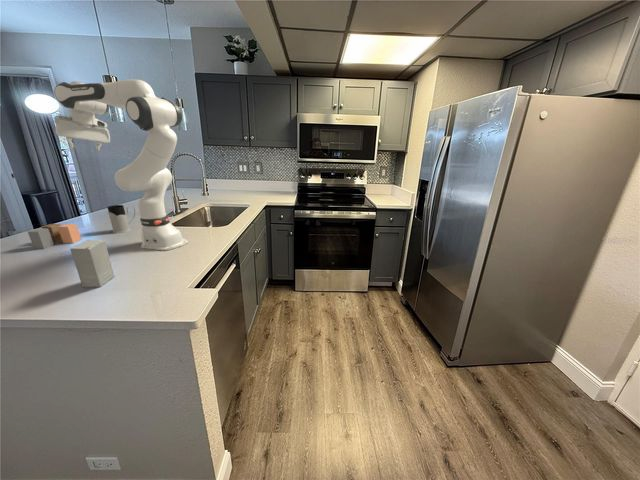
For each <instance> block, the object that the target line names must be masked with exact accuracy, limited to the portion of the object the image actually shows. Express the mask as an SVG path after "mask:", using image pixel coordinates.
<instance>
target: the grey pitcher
mask: <svg viewBox="0 0 640 480" xmlns="http://www.w3.org/2000/svg"><path fill="white" fill-rule="evenodd" d="M130 207H132V208H133V211H134V214H133V217H132V219H131V220H130V221H129V220H128V217H127V215H129V208H130ZM107 211H108V216H109V219H110V223H111V227H112V233H113V234H124V233H128V232H131V230H132V229H131V228H130V224H131V223H132V222H133V220H134V219H135V218H136V212H137V211H136V208H135V207H134V206H132V205H129V206H127V207H126V211H125V207H124V205H123V204H116V205H109V206H107Z"/></svg>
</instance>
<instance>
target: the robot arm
mask: <svg viewBox="0 0 640 480" xmlns="http://www.w3.org/2000/svg"><path fill="white" fill-rule="evenodd" d="M53 93H54V96H55V98H56V100H57V101H58V102H59V103H60V104H61V106H63V107H64V108H66V109H69V110H70V111H69V114H70V116H66V115H62V114H61V115H60V114H58V115H56V116H54V117H53V119H54V124H55V134H56V135H57V136H59V137H65V138H66V141H67V142H68V143H69V146H70V148H71V149H77V148H76V146H77V145H76V144H75V143H73V142H72V141H73V139H77V140H85V141H92V142H96V144H97V146H94V151H95V152H100V149H101V146H102V145H103V143H104V144H105V143H106V144H109V143H110V142H111V135H110V131H109V129H108V124H107V123H106V122H104V121H102V120H100V119H98V118H96V115H102V116H104V115H105V114H107V113H108V112H109V109H110V107H111V106H113V107H115V108H119V109H122V110H126V114H127V116H128V117H129V119H130V120H131V121H132V122H133V123H134V124H135V125H137V126H138V127H139V129H140V130H141V131H145V132H148V134H147V138H146V140H145V142H144V144H143V147H142V149H141V150H140V153H139V155H138V156H137V157H136V158H134V160H133V161H132V162H130V163H129V164H128V165H126V166H124V167H123V168H121V169H119V170H118V169H117V170H116V172H115V174H114V181H115V184H116V186H117V187H118V188H119V189H120V190H122V191H123V192H141V191H142V192H143V191H145V193H144V195H143V196H142V198H140V199H139V200H138V202H137V207H138V211H139V215H140V223H141V226H142V228H141V229H140V230H141V231H140V235H141V241H142V242H141V243H142V244H141V245H140V248H141V249H149V250H156V251H157V250H158V251H169V250H173V249H177V248H180V247H182V246H185V245H186V244H188V243H189V240H188V239H186V238H183V236H182V232H181V230H180V229H177V228H176V227H175V226H174V225H173V224H172V223H171V218H170V217H169V216H168V215H167V213H166V209H165V195H166V191H167V189H168V187H169V186H170V185H171V184H172V182H173V174H172V173H171V171H170V169H168V168H167V166H168V164H169V163H170V160H171V158H172V157H173V154H174V152H175V150H176V146H177V143H178V135H177V134H176V132H175V131H174V130H173V129H172V128H174V127H178V126H179V125H181V124H182V121H183V112H182V110H181V108H180V107H179V106H178V104H176V103H174V102H172V101H170V100H168V99H166V98H165V97H163V96H162V97H161V98H160V97H158V96H156V95H155V92H154V89H153V88H152V87H151V85H150V83H147V82H146V81H144V80H142V79H134V78H133V79H129V78H128V79H124V80H117V81H112V82H94V83H85V82H83V81H82V82H81V81H71V82H70V83H68V82H65V81H63V82H60V83H58V84H57V85H56V86H55V88H54V92H53ZM95 114H96V115H95Z"/></svg>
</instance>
